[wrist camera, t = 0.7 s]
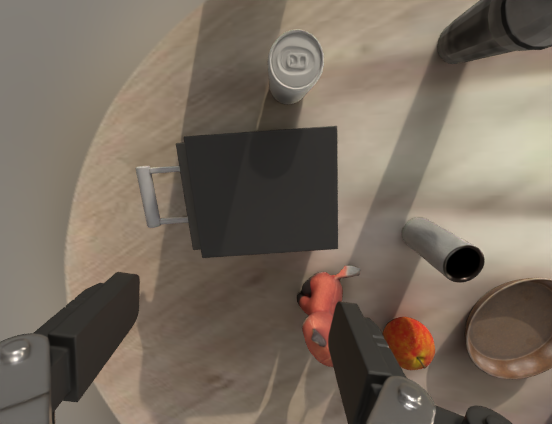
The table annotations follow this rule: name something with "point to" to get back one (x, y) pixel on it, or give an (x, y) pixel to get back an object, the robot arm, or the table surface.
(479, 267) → the grey hollow cylinder
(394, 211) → the table surface
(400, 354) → the fruit
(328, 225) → the cabinet
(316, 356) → the stuffed fox
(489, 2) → the beverage cup
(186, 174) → the drawer
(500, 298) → the plant saucer
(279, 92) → the beverage can
